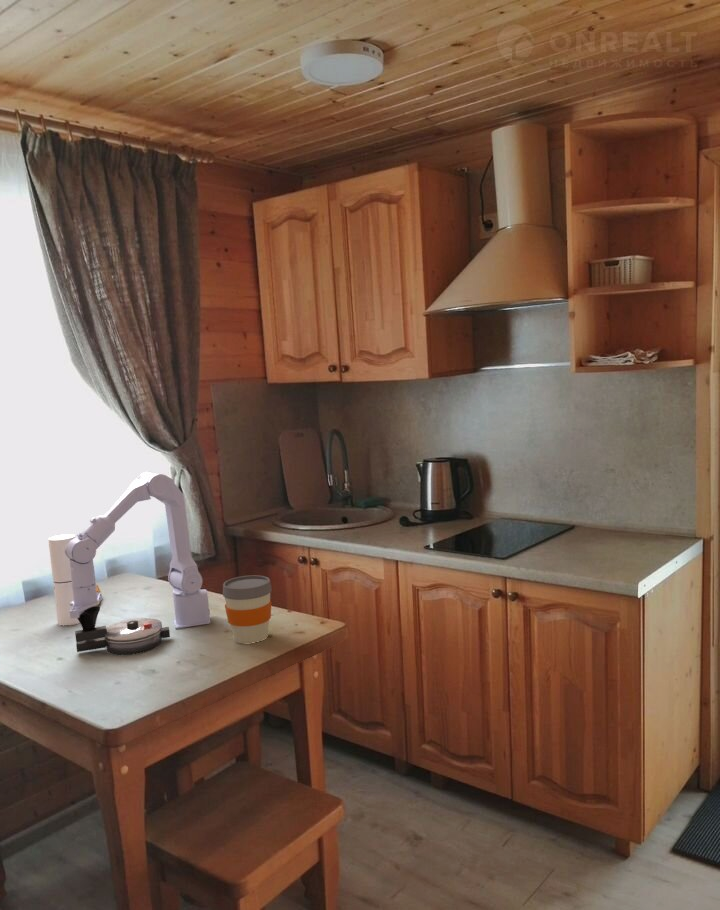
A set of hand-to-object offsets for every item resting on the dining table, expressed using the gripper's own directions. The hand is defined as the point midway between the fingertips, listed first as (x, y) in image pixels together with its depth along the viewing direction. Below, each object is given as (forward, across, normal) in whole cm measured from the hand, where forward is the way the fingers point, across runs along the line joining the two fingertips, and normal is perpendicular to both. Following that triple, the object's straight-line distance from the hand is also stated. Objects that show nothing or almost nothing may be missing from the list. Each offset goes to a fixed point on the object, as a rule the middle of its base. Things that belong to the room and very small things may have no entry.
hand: (89, 636), depth 196 cm
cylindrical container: (+4, -23, -16) cm, 28 cm away
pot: (+4, -1, +8) cm, 9 cm away
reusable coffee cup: (+4, -5, +41) cm, 41 cm away
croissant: (+4, -41, -20) cm, 45 cm away
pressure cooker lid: (0, -1, +8) cm, 8 cm away
